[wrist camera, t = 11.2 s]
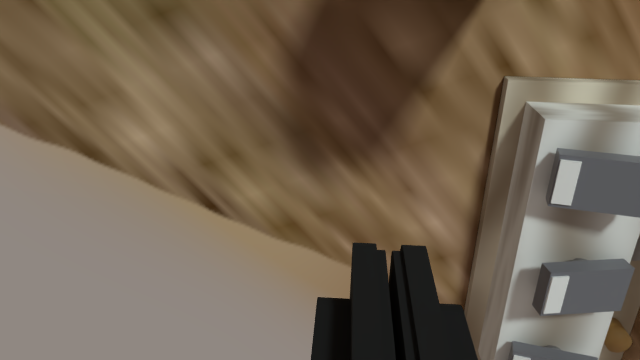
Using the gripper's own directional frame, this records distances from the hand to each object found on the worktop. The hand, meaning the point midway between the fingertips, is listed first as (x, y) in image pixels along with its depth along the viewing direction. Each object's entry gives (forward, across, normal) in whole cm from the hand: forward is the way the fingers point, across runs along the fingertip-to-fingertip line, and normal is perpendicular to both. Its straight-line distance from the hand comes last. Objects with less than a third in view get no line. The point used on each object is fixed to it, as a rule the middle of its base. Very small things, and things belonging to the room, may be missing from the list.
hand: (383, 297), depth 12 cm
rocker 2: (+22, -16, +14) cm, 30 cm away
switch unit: (+27, -17, +14) cm, 35 cm away
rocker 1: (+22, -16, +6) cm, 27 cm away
